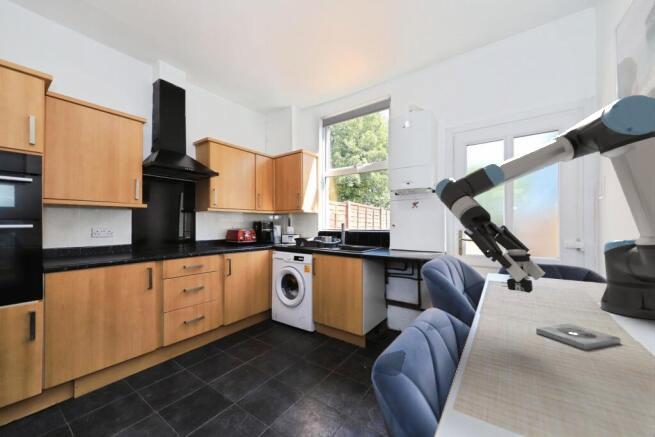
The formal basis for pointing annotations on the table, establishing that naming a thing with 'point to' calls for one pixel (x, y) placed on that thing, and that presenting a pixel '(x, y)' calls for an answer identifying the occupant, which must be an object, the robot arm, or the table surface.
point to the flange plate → (578, 336)
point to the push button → (520, 258)
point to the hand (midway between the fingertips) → (531, 277)
